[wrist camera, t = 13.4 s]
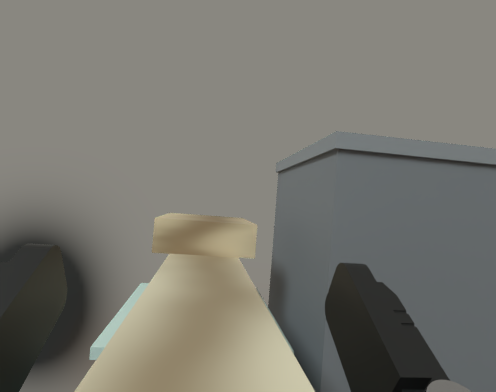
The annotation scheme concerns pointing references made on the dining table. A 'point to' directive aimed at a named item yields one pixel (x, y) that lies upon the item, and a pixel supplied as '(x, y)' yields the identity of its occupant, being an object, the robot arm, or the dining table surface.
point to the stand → (389, 246)
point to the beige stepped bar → (198, 320)
